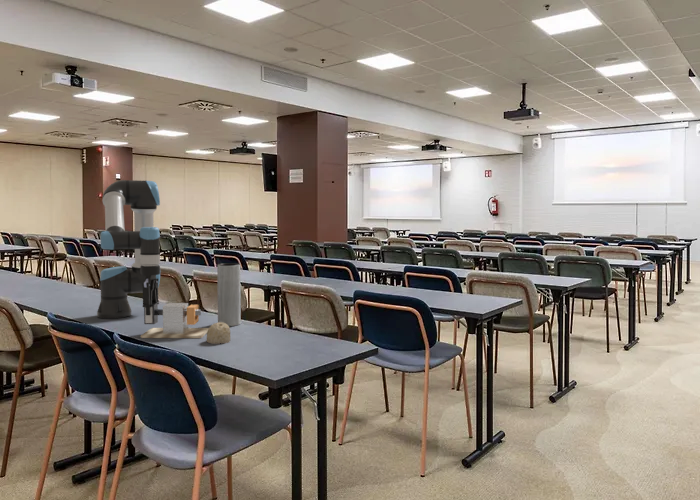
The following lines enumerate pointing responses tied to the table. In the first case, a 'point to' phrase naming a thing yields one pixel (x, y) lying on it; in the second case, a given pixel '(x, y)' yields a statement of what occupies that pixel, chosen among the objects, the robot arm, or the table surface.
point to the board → (188, 334)
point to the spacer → (192, 315)
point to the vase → (229, 294)
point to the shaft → (160, 312)
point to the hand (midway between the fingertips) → (151, 321)
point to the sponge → (218, 333)
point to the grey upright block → (175, 318)
